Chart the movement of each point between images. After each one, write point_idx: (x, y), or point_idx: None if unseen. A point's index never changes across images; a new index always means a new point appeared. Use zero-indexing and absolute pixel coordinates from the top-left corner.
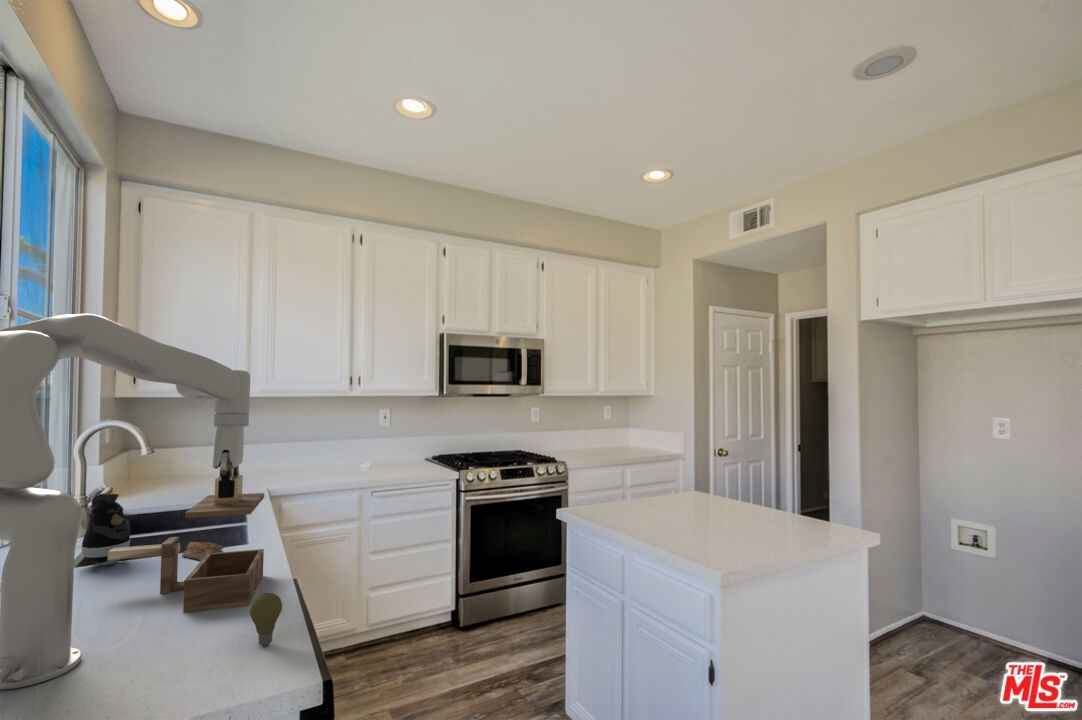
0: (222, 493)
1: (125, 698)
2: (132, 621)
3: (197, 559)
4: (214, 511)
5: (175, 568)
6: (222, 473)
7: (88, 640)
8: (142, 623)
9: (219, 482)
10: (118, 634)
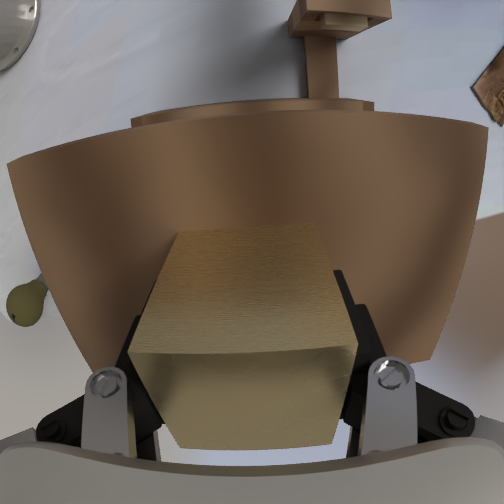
0: (136, 320)
1: None
2: (132, 37)
3: (490, 66)
4: (44, 274)
5: (341, 31)
6: (31, 435)
7: (71, 19)
8: (119, 60)
9: (125, 358)
10: (82, 49)
